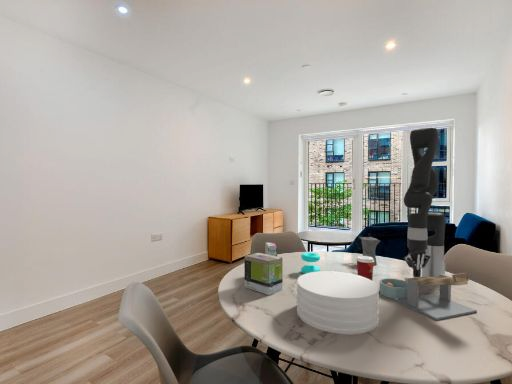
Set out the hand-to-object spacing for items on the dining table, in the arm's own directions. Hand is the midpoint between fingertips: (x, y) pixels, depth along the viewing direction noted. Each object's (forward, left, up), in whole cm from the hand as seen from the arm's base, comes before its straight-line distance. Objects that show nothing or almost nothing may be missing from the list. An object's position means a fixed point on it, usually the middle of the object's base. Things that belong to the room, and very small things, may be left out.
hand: (416, 277), depth 120 cm
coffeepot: (-12, -45, -7) cm, 47 cm away
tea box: (+62, -25, -7) cm, 67 cm away
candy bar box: (+52, -41, -7) cm, 67 cm away
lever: (+5, +12, +2) cm, 14 cm away
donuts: (+30, -39, -7) cm, 50 cm away
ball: (+10, -5, -4) cm, 12 cm away
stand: (+6, +13, -7) cm, 16 cm away
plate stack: (+46, +7, -7) cm, 46 cm away
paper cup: (+18, -11, -7) cm, 22 cm away
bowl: (+10, -2, -7) cm, 12 cm away
